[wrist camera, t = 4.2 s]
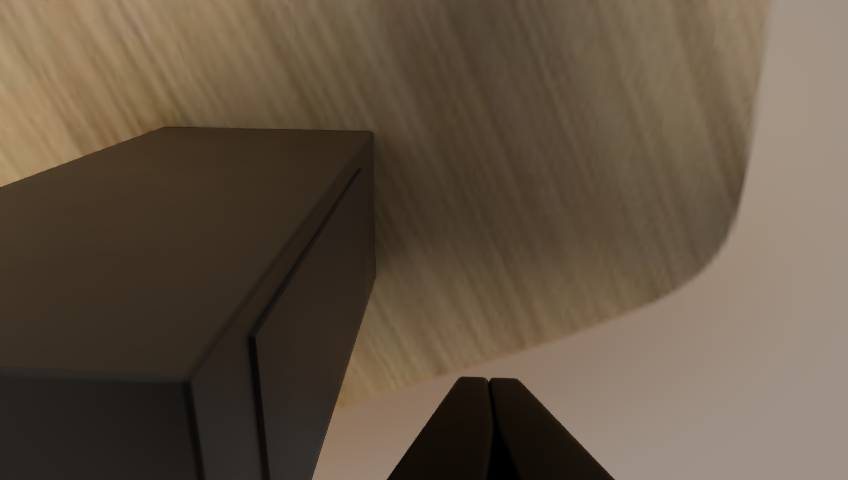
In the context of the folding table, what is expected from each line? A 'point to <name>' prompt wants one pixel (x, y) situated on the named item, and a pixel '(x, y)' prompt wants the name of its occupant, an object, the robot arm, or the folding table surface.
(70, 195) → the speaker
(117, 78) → the folding table surface
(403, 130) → the folding table surface
